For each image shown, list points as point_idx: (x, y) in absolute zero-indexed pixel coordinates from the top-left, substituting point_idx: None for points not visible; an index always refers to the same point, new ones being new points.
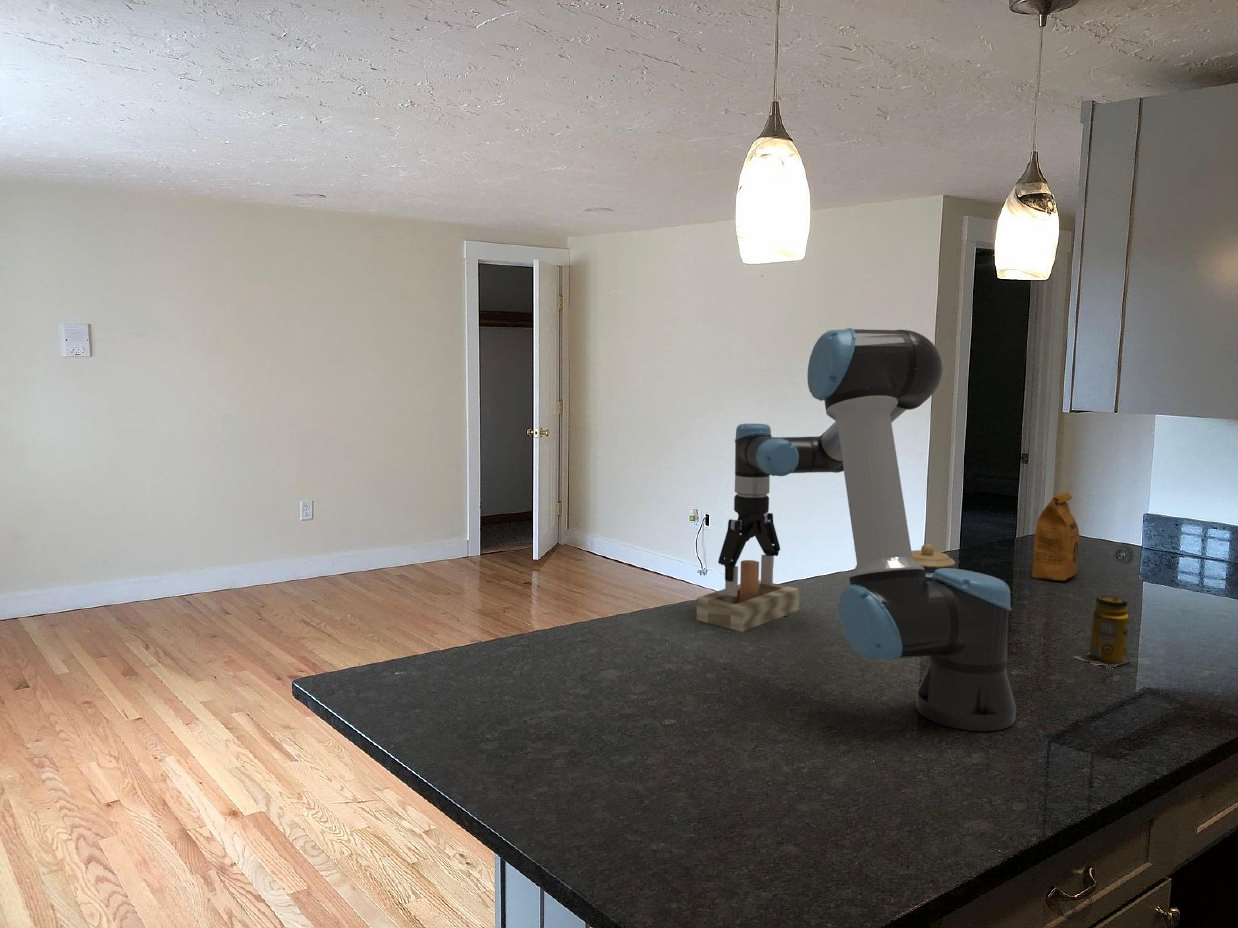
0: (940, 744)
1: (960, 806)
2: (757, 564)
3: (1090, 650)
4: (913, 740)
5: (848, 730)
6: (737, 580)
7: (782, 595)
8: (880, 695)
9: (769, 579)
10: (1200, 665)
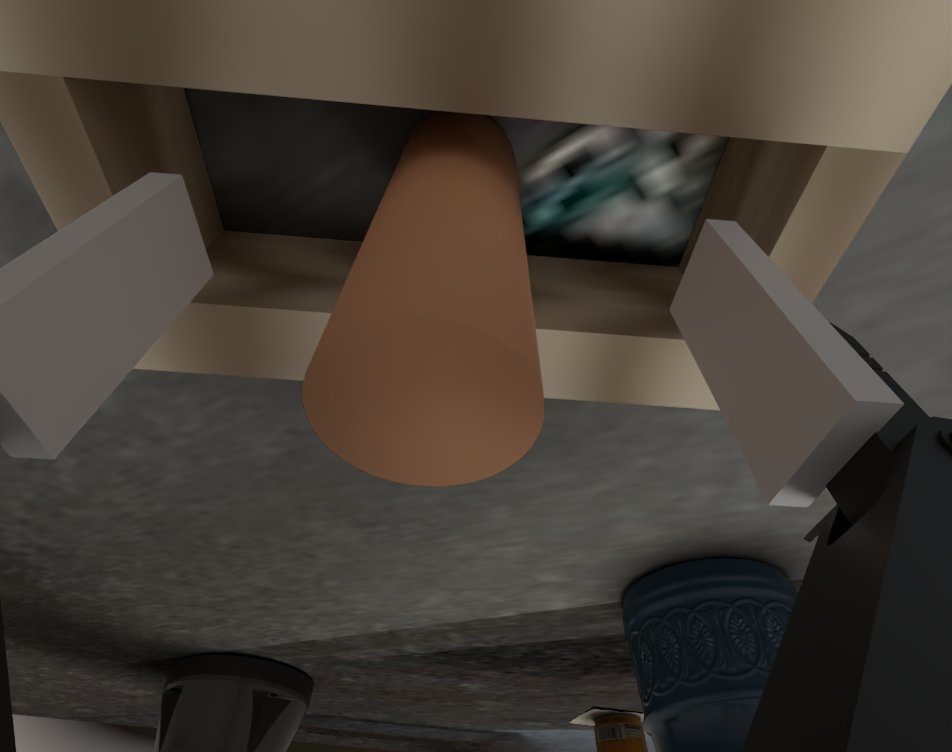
0: (123, 677)
1: (23, 696)
2: (424, 478)
3: (613, 726)
4: (96, 665)
5: (18, 631)
6: (144, 350)
7: (554, 395)
8: (184, 627)
9: (687, 323)
10: (648, 747)
